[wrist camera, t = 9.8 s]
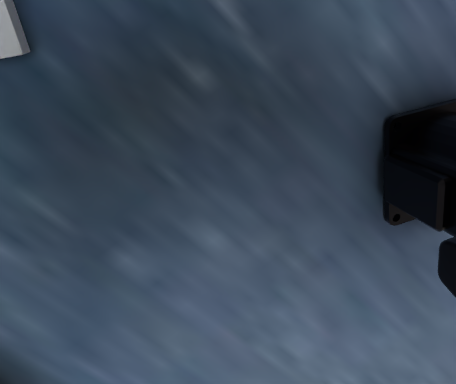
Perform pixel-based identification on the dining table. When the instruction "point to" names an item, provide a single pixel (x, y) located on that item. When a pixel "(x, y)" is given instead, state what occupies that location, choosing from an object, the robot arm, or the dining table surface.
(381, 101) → the dining table surface
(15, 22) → the shaft block
